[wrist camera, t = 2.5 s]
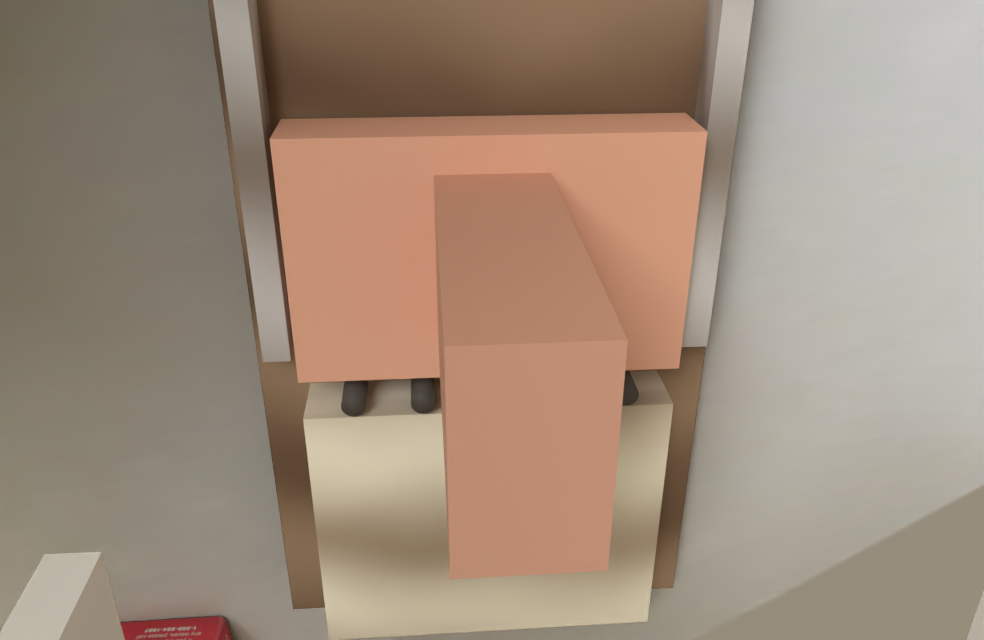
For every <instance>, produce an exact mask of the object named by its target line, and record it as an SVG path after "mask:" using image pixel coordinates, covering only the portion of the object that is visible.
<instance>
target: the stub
mask: <svg viewBox="0 0 984 640" xmlns="http://www.w3.org/2000/svg"><path fill="white" fill-rule="evenodd" d="M707 133H708V132H707V131H706V130H705V129H704V128H703V127H702V126H701V125H699V124H698V123H697V122H696V121H695V120H694V119H692V118H691V117H690V116H689V115H688V114H687V113H634V114H570V115H506V116H442V117H378V118H313V119H281V120H280V122H279V123H278V125H277V127H276V129H275V130H274V132H273V134H272V136H271V138H270V147H271V156H272V164H273V173H274V181H275V190H276V198H277V207H278V215H279V224H280V232H281V241H282V249H283V258H284V266H285V275H286V284H287V292H288V301H289V309H290V318H291V326H292V335H293V343H294V352H295V360H296V369H297V377H298V383H306V382H332V381H359V380H385V379H412V378H438V377H440V385H441V406H442V426H443V446H444V467H445V487H446V507H447V528H448V548H449V569H450V579H467V578H485V577H503V576H521V575H540V574H558V573H576V572H594V571H608V562H609V551H610V539H611V528H612V517H613V505H614V494H615V482H616V471H617V460H618V448H619V437H620V425H621V414H622V403H623V391H624V380H625V370H650V369H677V368H679V364H680V356H681V347H682V339H683V331H684V323H685V314H686V306H687V298H688V289H689V281H690V273H691V265H692V256H693V248H694V240H695V232H696V223H697V215H698V207H699V199H700V190H701V182H702V174H703V166H704V157H705V149H706V141H707Z"/></svg>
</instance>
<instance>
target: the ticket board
mask: <svg viewBox="0 0 984 640" xmlns="http://www.w3.org/2000/svg"><path fill="white" fill-rule="evenodd" d="M754 1H755V0H208V6H209V13H210V20H211V28H212V35H213V42H214V49H215V56H216V63H217V70H218V77H219V85H220V92H221V99H222V106H223V113H224V120H225V127H226V134H227V141H228V149H229V156H230V163H231V170H232V177H233V184H234V191H235V198H236V206H237V213H238V220H239V227H240V234H241V241H242V248H243V255H244V262H245V270H246V277H247V284H248V291H249V298H250V305H251V312H252V319H253V327H254V334H255V341H256V348H257V355H258V362H259V369H260V376H261V383H262V391H263V398H264V405H265V412H266V419H267V426H268V433H269V440H270V448H271V455H272V462H273V469H274V476H275V483H276V490H277V497H278V504H279V512H280V519H281V526H282V533H283V540H284V547H285V554H286V561H287V568H288V576H289V583H290V590H291V597H292V604H293V609H305V608H323V607H325V611H326V620H327V628H328V637H329V640H345V639H362V638H378V637H395V636H412V635H429V634H446V633H462V632H479V631H496V630H513V629H530V628H547V627H563V626H580V625H597V624H614V623H631V622H647V620H648V612H649V604H650V595H651V589H658V588H673V582H674V575H675V567H676V560H677V553H678V545H679V538H680V531H681V523H682V516H683V508H684V501H685V494H686V486H687V479H688V472H689V464H690V457H691V450H692V442H693V435H694V427H695V420H696V413H697V405H698V398H699V391H700V383H701V376H702V368H703V361H704V354H705V346H707V344H708V337H709V330H710V322H711V315H712V308H713V300H714V293H715V286H716V278H717V271H718V264H719V256H720V249H721V242H722V234H723V227H724V220H725V213H726V205H727V198H728V191H729V183H730V176H731V169H732V161H733V154H734V147H735V139H736V132H737V125H738V117H739V110H740V103H741V96H742V88H743V81H744V74H745V66H746V59H747V52H748V44H749V37H750V30H751V22H752V15H753V8H754ZM634 113H687V114H688V115H689V116H690V117H691V118H692V119H694V120H695V121H696V122H697V123H698V124H699V125H701V126H702V127H703V128H704V129H705V130H706V131H707V132H708V133H707V141H706V149H705V157H704V166H703V174H702V182H701V190H700V199H699V207H698V215H697V223H696V232H695V240H694V248H693V256H692V265H691V273H690V281H689V289H688V298H687V306H686V314H685V323H684V331H683V339H682V347H681V356H680V364H679V368H677V369H650V370H625V380H624V391H623V403H622V414H621V425H620V437H619V448H618V460H617V471H616V482H615V494H614V505H613V517H612V528H611V539H610V551H609V562H608V571H594V572H576V573H558V574H540V575H521V576H503V577H485V578H467V579H450V569H449V548H448V528H447V507H446V487H445V467H444V446H443V426H442V406H441V385H440V377H438V378H412V379H385V380H359V381H332V382H306V383H298V377H297V369H296V360H295V352H294V343H293V335H292V326H291V318H290V309H289V301H288V292H287V284H286V275H285V266H284V258H283V249H282V241H281V232H280V224H279V215H278V207H277V198H276V190H275V181H274V173H273V164H272V156H271V147H270V138H271V136H272V134H273V132H274V130H275V129H276V127H277V125H278V123H279V122H280V120H281V119H313V118H378V117H442V116H506V115H570V114H634Z"/></svg>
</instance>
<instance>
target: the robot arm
mask: <svg viewBox="0 0 984 640" xmlns="http://www.w3.org/2000/svg"><path fill="white" fill-rule="evenodd" d="M0 640H125V639H124V635H123V631H122V627H121V623H120V620H119V616H118V612H117V608H116V604H115V601H114V597H113V593H112V589H111V585H110V582H109V578H108V574H107V570H106V566H105V562H104V559H103V555H102V552H84V553H62V554H44V556H43V558H42V559H41V561H40V563H39V565H38V566H37V568H36V570H35V572H34V573H33V575H32V577H31V579H30V580H29V582H28V584H27V586H26V587H25V589H24V591H23V593H22V594H21V596H20V598H19V600H18V601H17V603H16V605H15V607H14V608H13V610H12V612H11V614H10V615H9V617H8V619H7V621H6V622H5V624H4V626H3V628H2V629H1V631H0ZM967 640H984V591H983V594H982V596H981V599H980V602H979V605H978V608H977V611H976V614H975V617H974V619H973V622H972V625H971V628H970V631H969V634H968V637H967Z"/></svg>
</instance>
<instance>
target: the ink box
mask: <svg viewBox="0 0 984 640" xmlns="http://www.w3.org/2000/svg"><path fill="white" fill-rule="evenodd" d="M120 623H121V627H122V631H123V635H124V639H125V640H233V639H232V636H231V633H230V630H229V627H228V624H227V622H226V620H225V618H223V617H221V616H212V617H197V618H184V619H167V620H150V621H134V622H120Z"/></svg>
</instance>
